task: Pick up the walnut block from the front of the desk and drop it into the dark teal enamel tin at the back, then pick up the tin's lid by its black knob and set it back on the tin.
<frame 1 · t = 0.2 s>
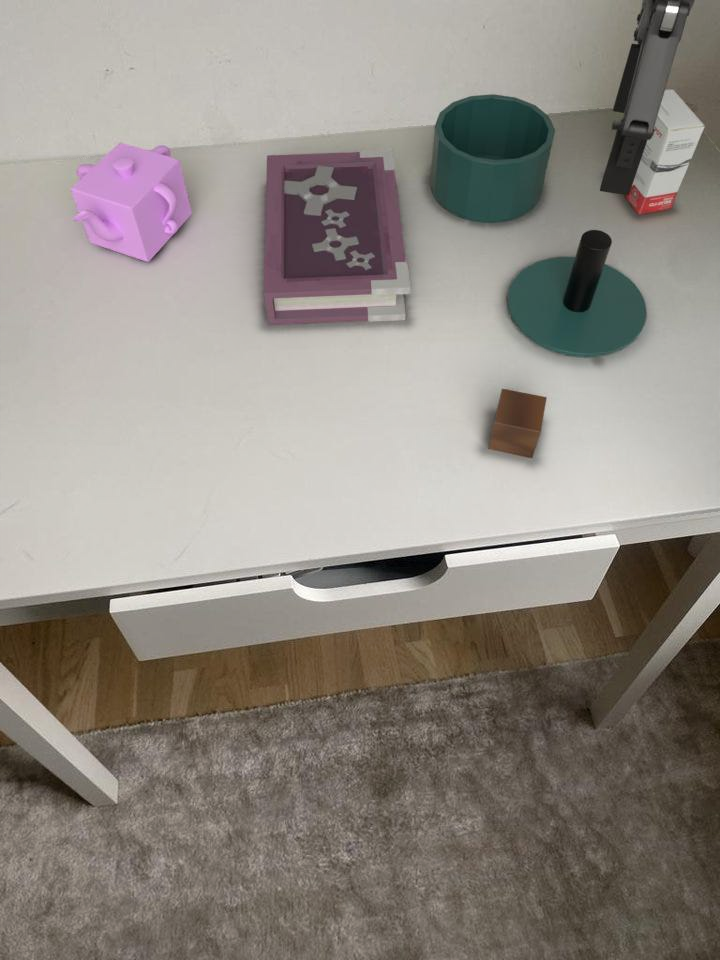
hand: (620, 149, 76), 18 cm above the table, tool pointing down, fingers open, 13 cm apart
tin: (485, 187, 101), on the table
lid: (575, 306, 88), point 1 cm above the table
book: (334, 250, 95), on the table
ink box: (640, 194, 101), on the table
teapot: (136, 237, 97), on the table
block: (513, 436, 79), on the table
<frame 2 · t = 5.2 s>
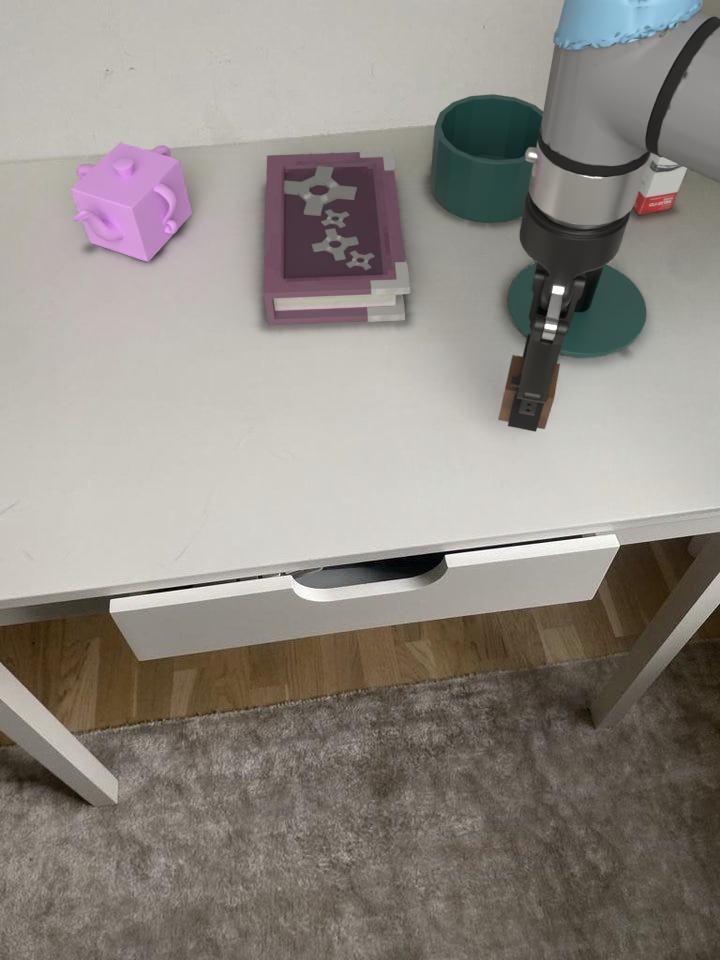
hand: (526, 405, 74), 6 cm above the table, tool pointing down, fingers closed on block, 4 cm apart
block: (524, 407, 74), point 5 cm above the table, touching gripper
everything else where it was.
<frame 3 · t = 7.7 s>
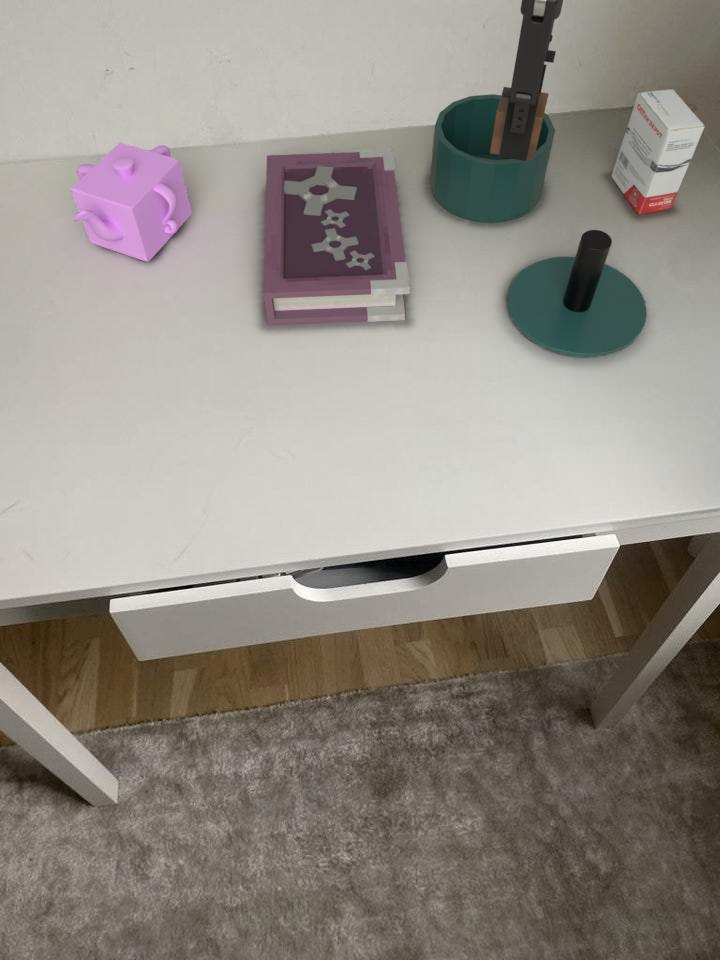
hand: (516, 141, 78), 17 cm above the table, tool pointing down, fingers closed on block, 4 cm apart
block: (514, 144, 78), point 17 cm above the table, touching gripper
everything else where it was.
when the fingers open (13 cm above the table, at t = 10.4 s): block drops 10 cm and tips over, resting on tin.
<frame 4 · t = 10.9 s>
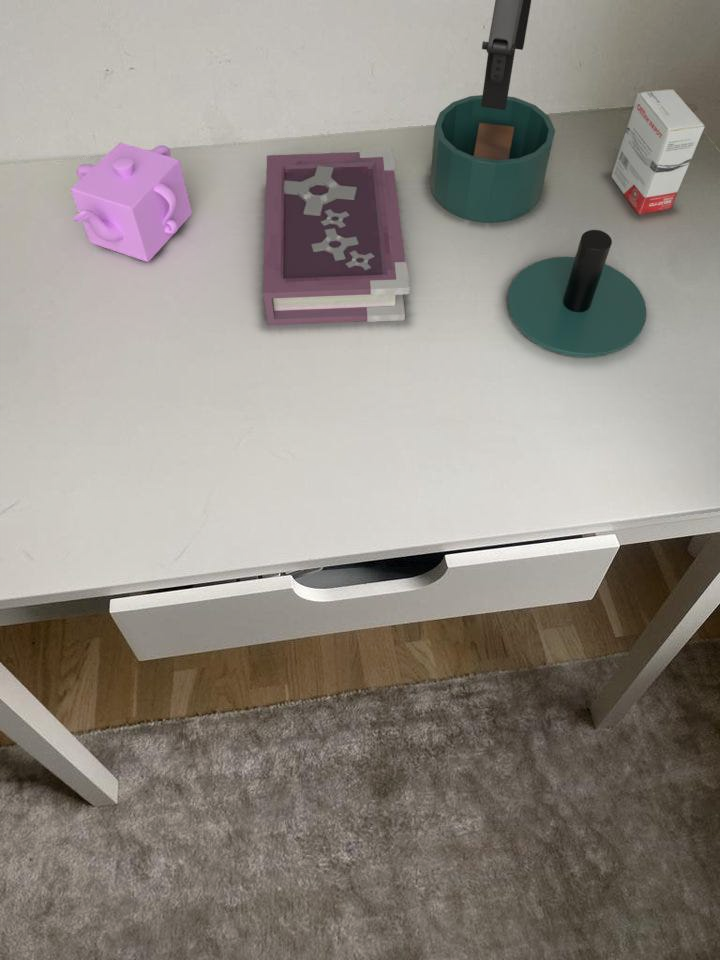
hand: (503, 75, 89), 15 cm above the table, tool pointing down, fingers open, 12 cm apart
block: (489, 166, 100), point 2 cm above the table, tilted 55°, touching tin
everything else where it was.
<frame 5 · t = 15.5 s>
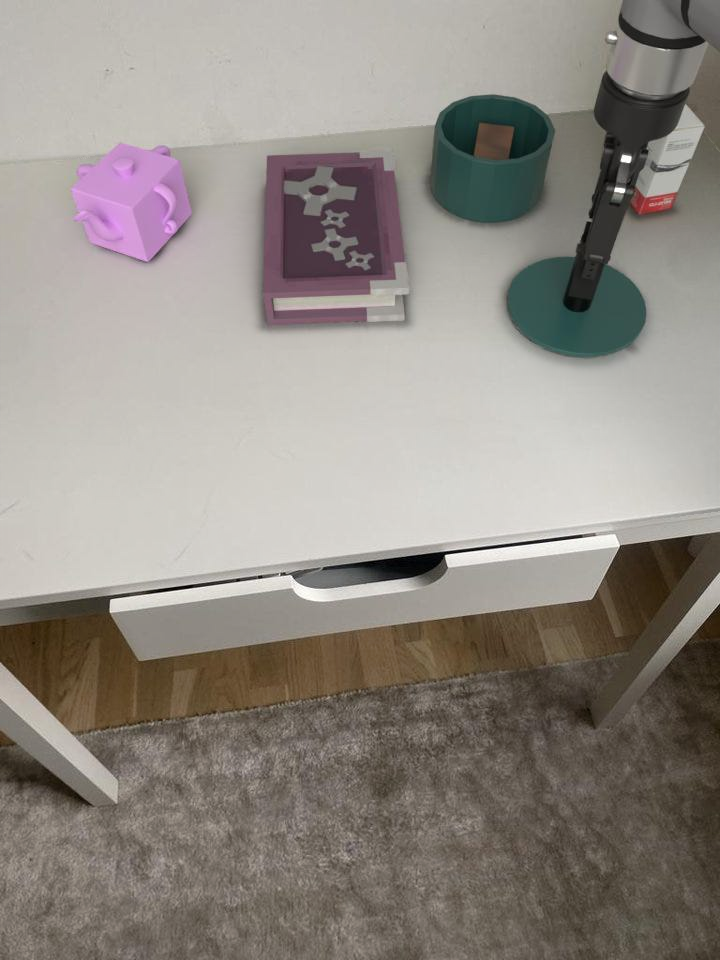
hand: (582, 283, 85), 4 cm above the table, tool pointing down, fingers closed on lid, 3 cm apart
lid: (575, 306, 88), point 1 cm above the table, touching gripper
everything else where it was.
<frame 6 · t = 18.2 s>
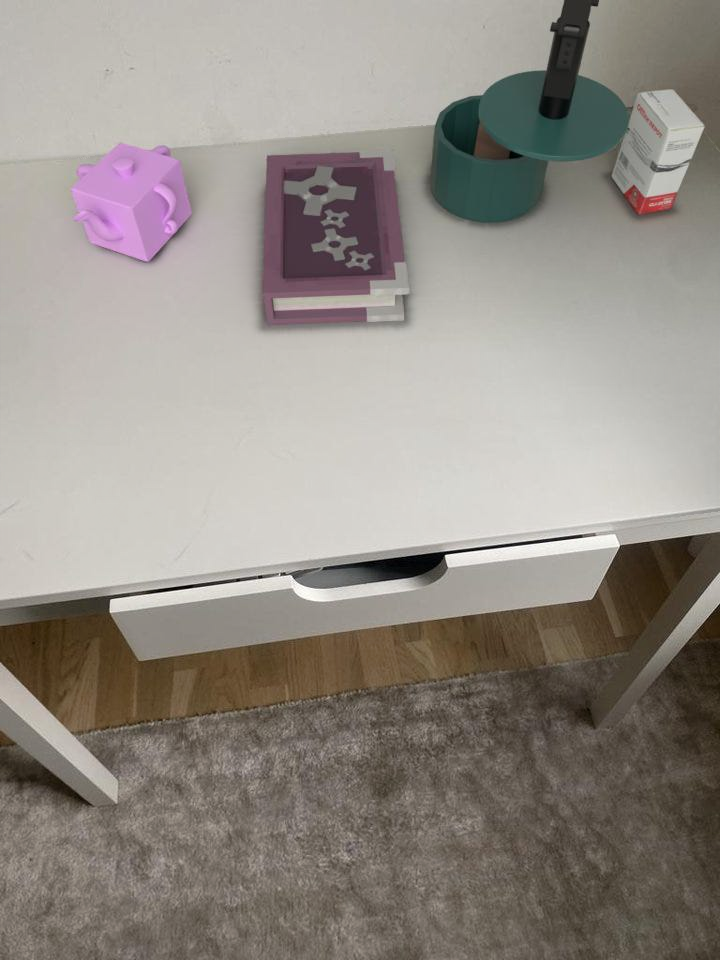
hand: (559, 84, 79), 20 cm above the table, tool pointing down, fingers closed on lid, 3 cm apart
lid: (552, 116, 81), point 17 cm above the table, touching gripper
everything else where it was.
when the fingers open (12 cm above the table, at t = 21.2 s): lid stays where it is, resting on tin.
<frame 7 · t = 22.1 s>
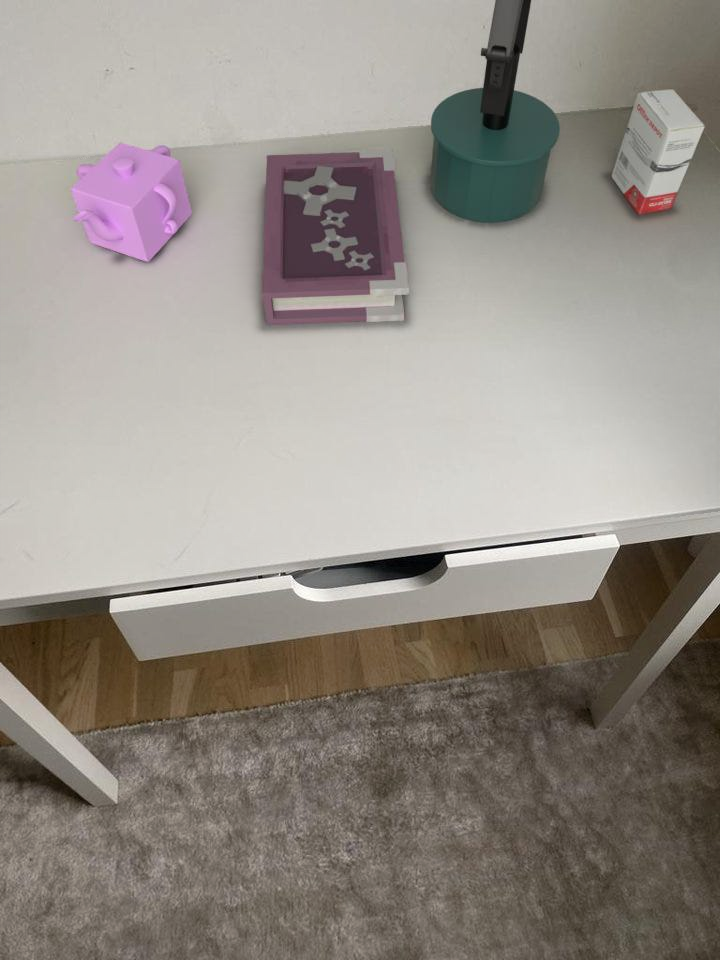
hand: (502, 80, 89), 14 cm above the table, tool pointing down, fingers open, 13 cm apart
lid: (494, 127, 94), point 8 cm above the table, touching tin
everything else where it was.
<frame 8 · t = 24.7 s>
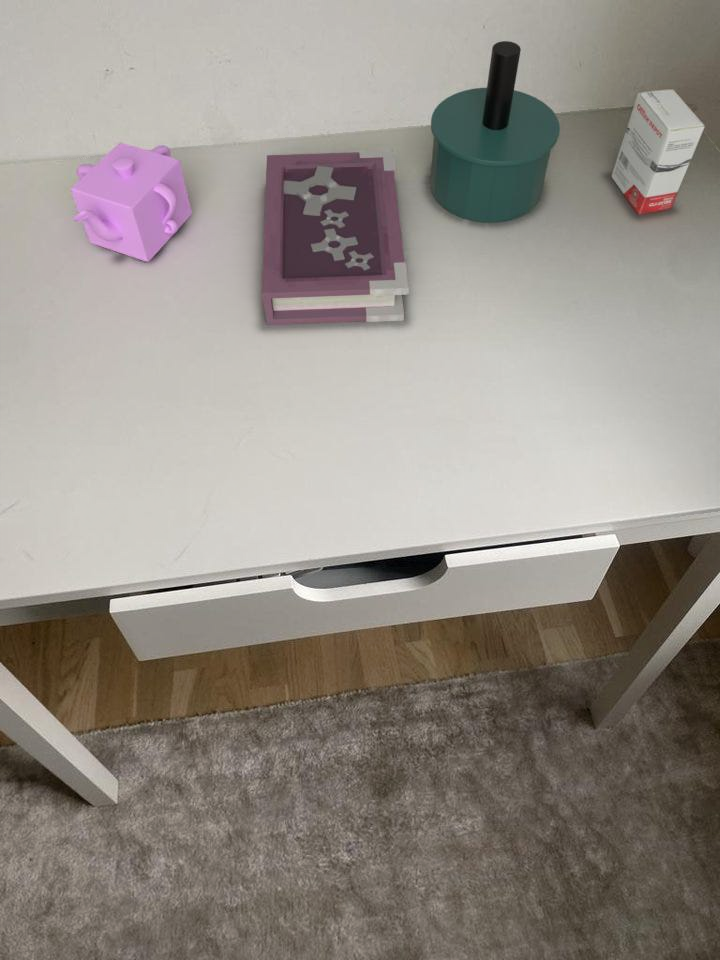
nothing on the table moved.
at the end: block inside the target area in the tin (1.1 cm from its centre), point 2.3 cm above the tin's base; lid 0.0 cm off-centre on the tin, point 8.5 cm above the tin's base; lid tilted 0° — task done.
